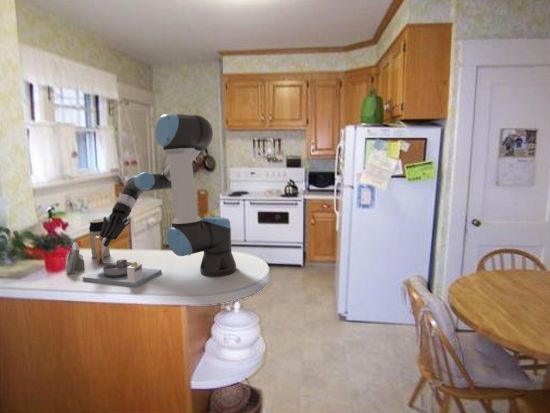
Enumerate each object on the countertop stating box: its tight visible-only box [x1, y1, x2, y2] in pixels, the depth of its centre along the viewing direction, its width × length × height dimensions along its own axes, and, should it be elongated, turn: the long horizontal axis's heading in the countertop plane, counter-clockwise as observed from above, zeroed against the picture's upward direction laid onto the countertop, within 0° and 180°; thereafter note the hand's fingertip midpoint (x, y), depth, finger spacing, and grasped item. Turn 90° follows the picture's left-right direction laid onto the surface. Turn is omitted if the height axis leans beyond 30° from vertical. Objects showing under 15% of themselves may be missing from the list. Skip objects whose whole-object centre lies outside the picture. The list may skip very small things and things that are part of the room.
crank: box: [94, 236, 132, 277], centre depth 156 cm, size 17×12×14 cm
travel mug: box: [88, 218, 111, 259], centre depth 185 cm, size 8×8×18 cm
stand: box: [82, 261, 163, 288], centre depth 155 cm, size 26×16×9 cm, turn 72°
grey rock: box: [65, 241, 86, 275], centre depth 167 cm, size 16×9×11 cm, turn 18°
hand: (99, 252), depth 160 cm, fingers closed
